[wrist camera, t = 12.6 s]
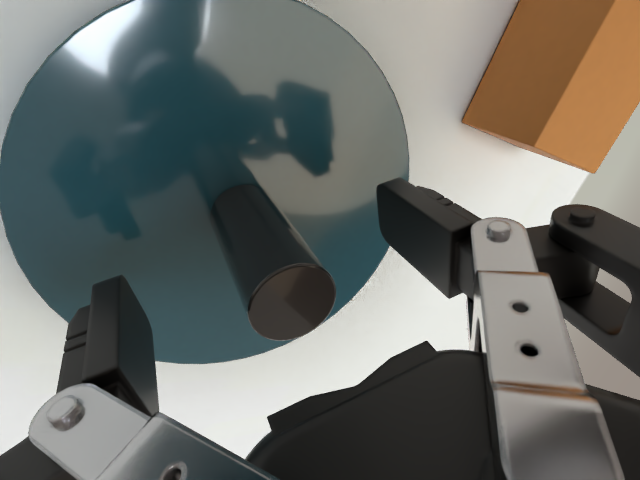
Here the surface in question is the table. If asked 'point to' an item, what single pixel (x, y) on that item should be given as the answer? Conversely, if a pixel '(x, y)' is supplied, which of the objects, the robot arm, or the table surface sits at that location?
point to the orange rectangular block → (563, 79)
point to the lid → (204, 170)
